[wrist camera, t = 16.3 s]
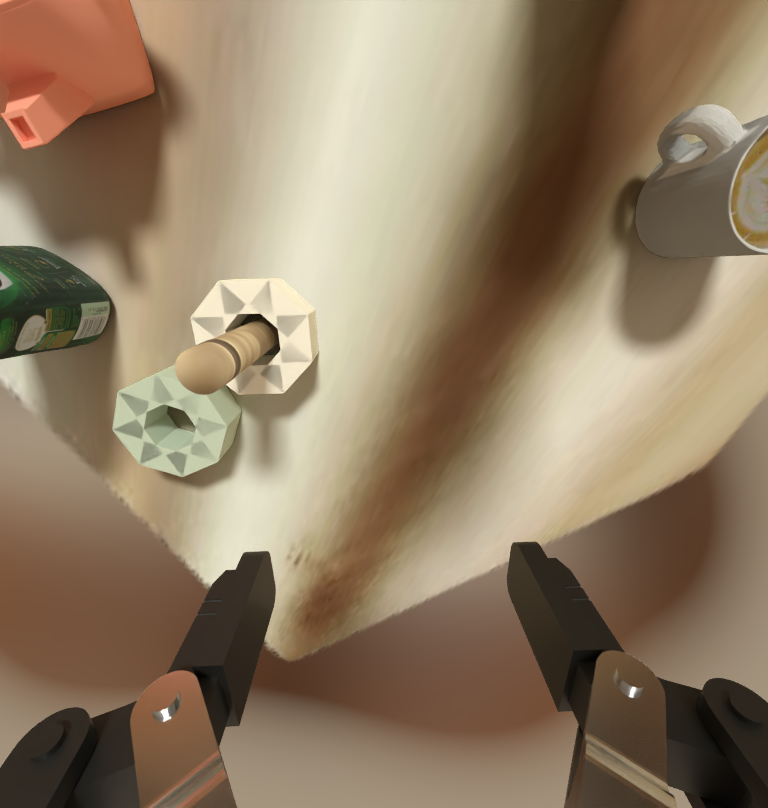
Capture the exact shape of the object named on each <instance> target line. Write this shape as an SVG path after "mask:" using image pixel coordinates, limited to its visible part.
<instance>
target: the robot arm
mask: <svg viewBox="0 0 768 808" xmlns="http://www.w3.org/2000/svg"><path fill="white" fill-rule="evenodd" d="M507 586H508V592H509V595H510V598H511V600H512V603H513V605H514V608H515V610H516V612H517V615H518V617H519V620H520V622H521V624H522V627H523V629H524V631H525V634H526V636H527V639H528V641H529V643H530V645H531V648H532V650H533V653H534V655H535V658H536V660H537V662H538V665H539V667H540V669H541V672H542V674H543V677H544V679H545V681H546V684H547V686H548V688H549V691H550V693H551V695H552V698H553V700H554V703H555V705H556V707H557V710H558V711H559V712H560V711H573V713H574V715H575V717H576V719H577V721H578V728H577V733H576V739H575V745H574V751H573V756H572V763H571V768H570V774H569V780H568V786H567V792H566V798H565V804H564V808H677V805H676V800H675V798H674V796H673V795H672V794H671V793H669V790H668V786H670V787H673V788H677V789H679V790H682V791H684V793H685V795H686V796H687V798H688V800H689V802H690V804H691V806H692V808H768V703H767V702H766V701H765V700H764V699H762V698H761V697H760V696H759V695H757V694H756V693H754V692H753V691H752V690H750V689H748V688H746V687H744V686H742V685H740V684H739V683H736V682H734V681H731V680H727V679H723V678H713V679H710V680H708V681H707V682H706V683H705V685H704V687H703V689H702V690H699V689H696V688H692V687H689V686H685V685H681V684H677V683H674V682H670V681H667V680H664V679H661V678H659V677H657V676H656V675H655V674H654V673H653V672H652V671H651V669H650V668H649V667H648V666H646V665H645V664H644V663H643V662H641V661H639V660H638V659H637V658H635V657H633V656H631V655H629V654H627V653H625V652H624V650H623V649H622V648H621V646H620V645H619V643H618V642H617V640H616V639H615V637H614V635H613V634H612V632H611V631H610V629H609V628H608V626H607V625H606V624H605V622H604V620H603V619H602V617H601V616H600V615H599V613H598V611H597V610H596V608H595V607H594V605H593V604H592V602H591V601H589V599H588V596H587V595H586V593H585V592H584V590H583V589H582V588H581V587H580V584H579V582H578V581H577V579H576V578H575V576H574V575H573V573H572V572H571V571H570V570H569V569H568V568H567V567H566V566H565V565H564V564H562V563H561V562H560V561H559V560H558V559H556V558H547V556H546V555H545V553H544V551H543V550H542V548H541V546H540V545H539V544H538V543H537V542H514V543H512V546H511V552H510V559H509V566H508V574H507ZM275 593H276V588H275V581H274V575H273V569H272V563H271V557H270V553H269V552H268V551H261V552H245V553H243V555H242V557H241V559H240V561H239V563H238V566H237V568H236V570H226V571H225V572H224V573H223V574H222V575H221V576H220V577H219V578H218V579H217V580H216V581H215V582H214V583H213V584H212V586H211V588H210V590H209V592H208V594H207V596H206V598H205V601H204V603H203V604H202V606H201V608H200V610H199V612H198V616H196V618H195V620H194V622H193V624H192V626H191V628H190V630H189V632H188V634H187V636H186V638H185V640H184V642H183V643H182V645H181V647H180V649H179V651H178V654H177V655H176V657H175V659H174V661H173V663H172V665H171V667H170V669H169V671H168V672H167V674H166V675H164V676H162V677H161V678H159V679H157V680H156V681H155V682H153V683H152V684H151V685H150V686H149V687H148V688H147V689H146V690H145V691H144V692H143V693H142V695H141V696H140V697H139V699H138V700H137V701H135V702H133V703H131V704H128V705H126V706H123V707H121V708H118V709H115V710H113V711H110V712H107V713H105V714H102V715H99V716H96V717H94V718H90V717H89V714H88V713H87V712H86V710H84V709H82V708H78V707H77V708H76V707H74V708H67V709H64V710H61V711H59V712H56V713H54V714H52V715H51V716H49V717H47V718H46V719H44V720H43V721H41V722H40V723H38V724H37V725H36V726H35V727H34V728H32V729H31V730H30V731H29V732H28V733H27V734H26V735H25V736H24V737H23V738H22V739H21V740H20V741H19V743H18V744H17V745H16V746H15V748H14V749H13V751H12V752H11V753H10V755H9V756H8V758H7V759H6V760H5V762H4V763H3V765H2V766H1V768H0V808H237V806H236V802H235V799H234V796H233V792H232V789H231V786H230V783H229V779H228V776H227V772H226V769H225V766H224V762H223V759H222V756H221V752H220V749H219V745H220V742H221V739H222V736H223V733H224V730H225V727H227V726H239V725H240V721H241V718H242V714H243V711H244V708H245V704H246V701H247V697H248V693H249V690H250V687H251V683H252V680H253V677H254V673H255V670H256V666H257V663H258V659H259V656H260V652H261V649H262V646H263V642H264V639H265V635H266V632H267V628H268V625H269V621H270V618H271V614H272V611H273V607H274V603H275Z"/></svg>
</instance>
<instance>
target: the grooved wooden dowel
mask: <svg viewBox="0 0 768 808" xmlns="http://www.w3.org/2000/svg"><path fill="white" fill-rule="evenodd" d="M278 343H279V334H278V329H277V328H276V327H275V326H274V325H273V324H272V323H271V322H269V321H268V320H267V319H266V318H265V317H263V318H260V319H257V320H255V321H253V322H250V323H248V324H246V325H243V326H241V327H239V328H236V329H234V330H232V331H229V332H227V333H225V334H223V335H220V336H218V337H216V338H213V339H210V340H207V341H204V342H202V343H200V344H198V345H196V346H195V347H192V348H190V349H188V350H185V351H184V352H182V353H181V354H180V355H179V356H178V358H177V360H176V363H175V372H176V376H177V378H178V380H179V381H180V383H181V384H182V385H183V386H184V387H185V388H186V389H188V390H189V391H191V392H193V393H196V394H200V395H208V394H212V393H214V392H216V391H217V390H219V389H220V388H221V387H223V386H224V385H226V384H227V383H229V382H230V381H231V380H233V379H234V378H235V377H236V376H237V375H238V374H239V373H241V372H242V371H243V370H244V369H246V368H247V367H248V366H250V365H251V364H252V363H253V362H255V361H256V360H257V359H259V358H260V357H261V356H262V355H264V354H265V353H266V352H268V351H269V350H270V349H272V348H273V347H274V346H275V345H277V344H278Z"/></svg>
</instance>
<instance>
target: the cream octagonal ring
mask: <svg viewBox="0 0 768 808" xmlns="http://www.w3.org/2000/svg"><path fill="white" fill-rule="evenodd" d="M248 314H261V315H262V316H264V317H265V318H266V319H267V320H268V321H269V322H271V323H272V324H273V325H274V326H275V327H276V328H277V329H278V334H279V343H280V351H279V353H278V354H277V355H262V356H261V357H260V358H259V359H257V360H256V361H255V362H253V363H252V364H251V365H250V366H248V367H247V368H246V369H244V370H243V371H242V372H241V373H239V374H238V375H237V376H236V377H235V378H234V379H233V380H231V381H230V382H229V383H227V384H226V385H227V386H228V387H229V388H231V389H232V390H233V391H235V392H236V393H237V394H238V395H245V394H281V393H285V391H286V390H287V389H288V388H289V387H290V386H291V385H292V384H293V383H294V382H295V380H296V379H297V378H298V377H299V376H300V375H301V374H302V373H303V372H304V371H305V369H306V368H307V367H308V366H309V365H310V364H311V363H312V362H313V360H314V359H315V357H316V355H317V354H318V352H319V350H318V338H317V326H316V315H315V309H314V308H313V307H312V306H311V305H309V304H308V303H307V302H306V301H305V300H304V299H303V298H302V297H301V296H300V295H299V294H297V293H296V292H295V291H294V290H293V289H292V288H291V287H290V286H289V285H288V284H287V283H286V282H284V281H283V280H282V279H281V278H272V279H233V280H220V281H218V282H217V284H216V285H215V286H214V288H213V289H212V290H211V291H210V293H209V294H208V295H207V297H206V298H205V299H204V301H203V302H202V303H201V305H200V306H199V307H198V308H197V310H196V311H195V312H194V314H193V315H192V316H191V322H192V327H193V332H194V337H195V342H196V345H198V344H200V343H202V342H204V341H207V340H210V339H213V338H216V337H218V336H220V335H223V334H225V333H227V332H229V331H232V330H234V329H236V328H239V327H241V326H242V325H241V323H242V322H243V321H244V319H245V318H246V317H247V316H248Z"/></svg>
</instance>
